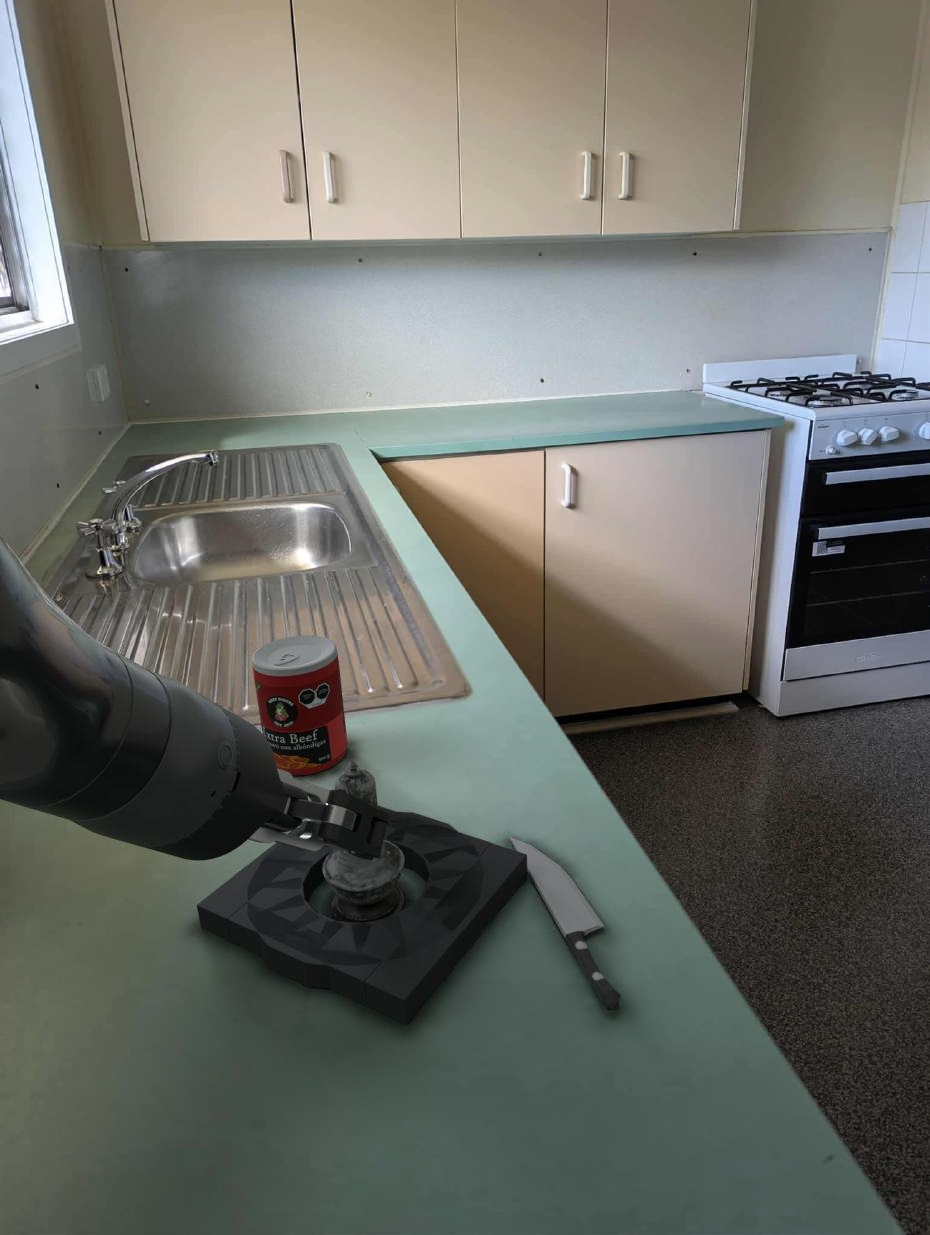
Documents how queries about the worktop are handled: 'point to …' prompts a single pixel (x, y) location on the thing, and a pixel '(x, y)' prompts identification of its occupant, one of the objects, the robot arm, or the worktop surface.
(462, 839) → the black pad
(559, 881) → the chef's knife
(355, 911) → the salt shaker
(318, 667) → the canned food
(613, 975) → the worktop surface
